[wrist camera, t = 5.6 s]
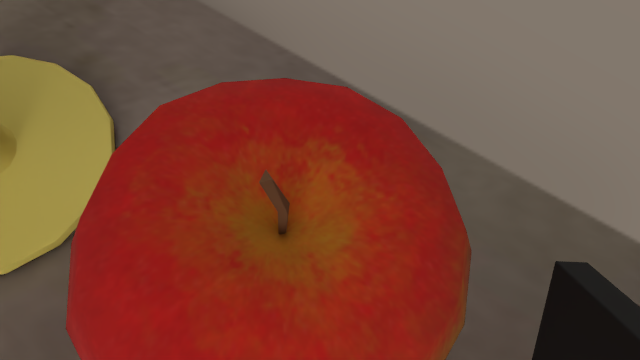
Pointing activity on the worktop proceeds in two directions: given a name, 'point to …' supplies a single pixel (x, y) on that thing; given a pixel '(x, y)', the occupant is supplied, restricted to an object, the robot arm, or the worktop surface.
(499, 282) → the worktop surface
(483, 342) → the worktop surface
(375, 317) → the apple
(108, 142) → the candle
